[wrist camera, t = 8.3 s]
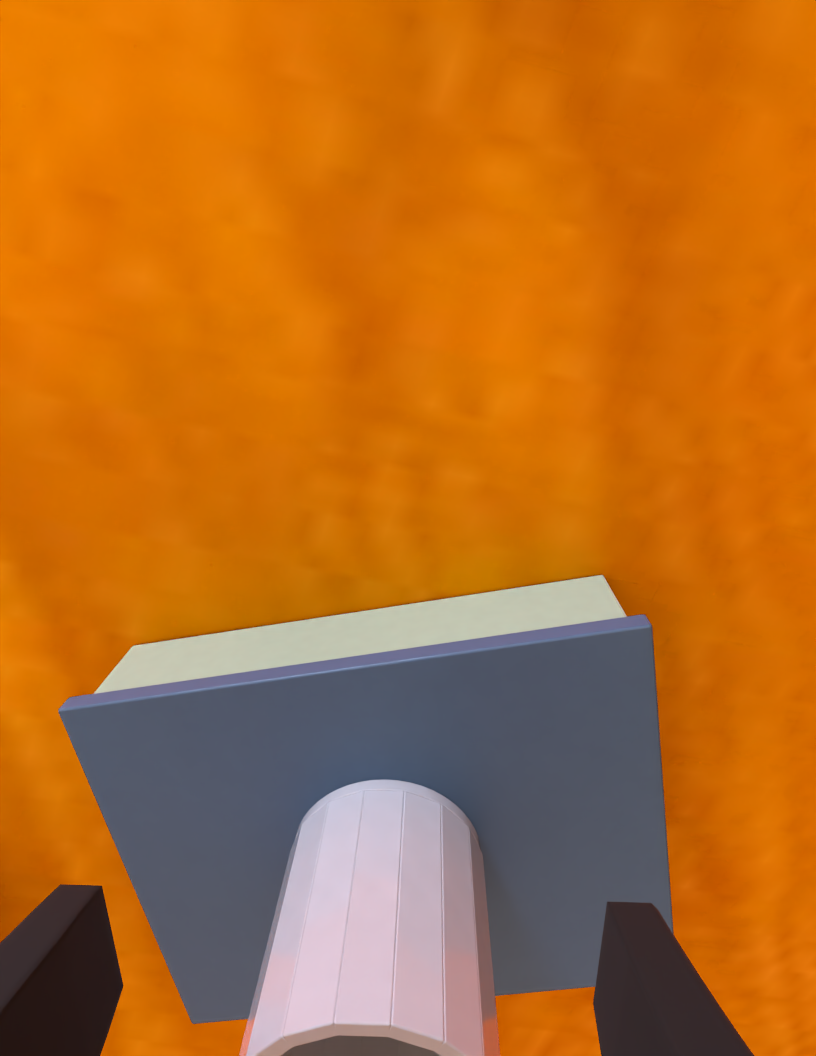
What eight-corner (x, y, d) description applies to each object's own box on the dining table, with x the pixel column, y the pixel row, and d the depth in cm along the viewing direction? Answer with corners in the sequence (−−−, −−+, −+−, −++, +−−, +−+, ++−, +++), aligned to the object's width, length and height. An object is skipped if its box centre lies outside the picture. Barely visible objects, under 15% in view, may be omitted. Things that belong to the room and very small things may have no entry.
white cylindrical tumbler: (300, 920, 19) (244, 1192, 13) (287, 776, 17) (216, 1019, 11) (478, 924, 19) (498, 1202, 13) (483, 780, 17) (509, 1029, 11)
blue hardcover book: (225, 920, 24) (191, 1024, 21) (119, 637, 20) (56, 710, 17) (640, 875, 23) (677, 980, 19) (613, 562, 19) (653, 624, 15)
